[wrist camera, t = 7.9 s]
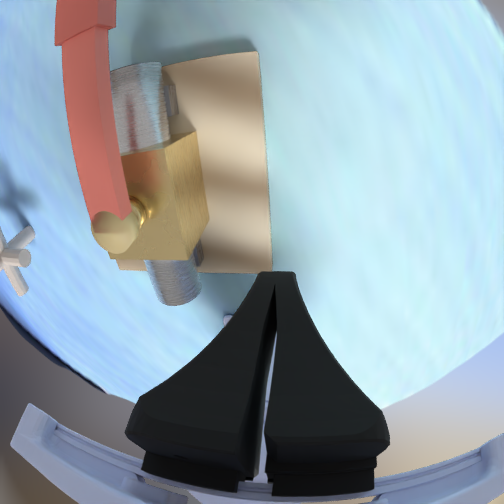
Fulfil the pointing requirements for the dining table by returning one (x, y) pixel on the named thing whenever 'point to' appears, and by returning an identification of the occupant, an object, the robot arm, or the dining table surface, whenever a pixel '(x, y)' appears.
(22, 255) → the pipe connector
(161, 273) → the ball valve
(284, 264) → the dining table surface
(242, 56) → the mounting board
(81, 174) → the lever
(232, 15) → the dining table surface
